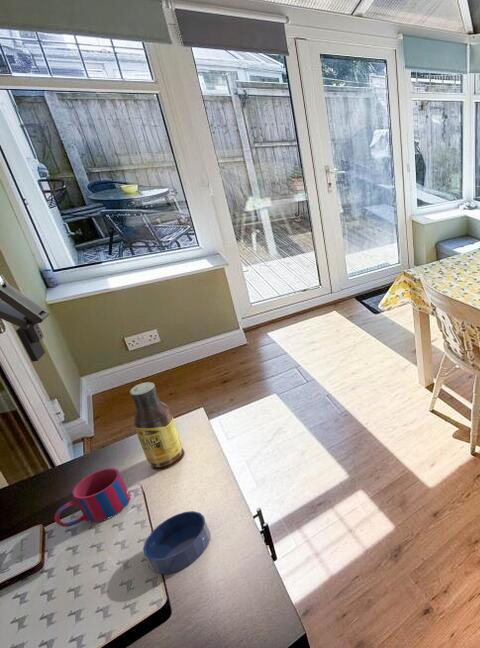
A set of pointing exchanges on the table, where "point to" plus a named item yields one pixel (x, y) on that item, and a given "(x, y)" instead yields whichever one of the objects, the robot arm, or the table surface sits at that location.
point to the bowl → (177, 542)
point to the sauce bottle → (155, 426)
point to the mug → (97, 497)
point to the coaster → (170, 464)
